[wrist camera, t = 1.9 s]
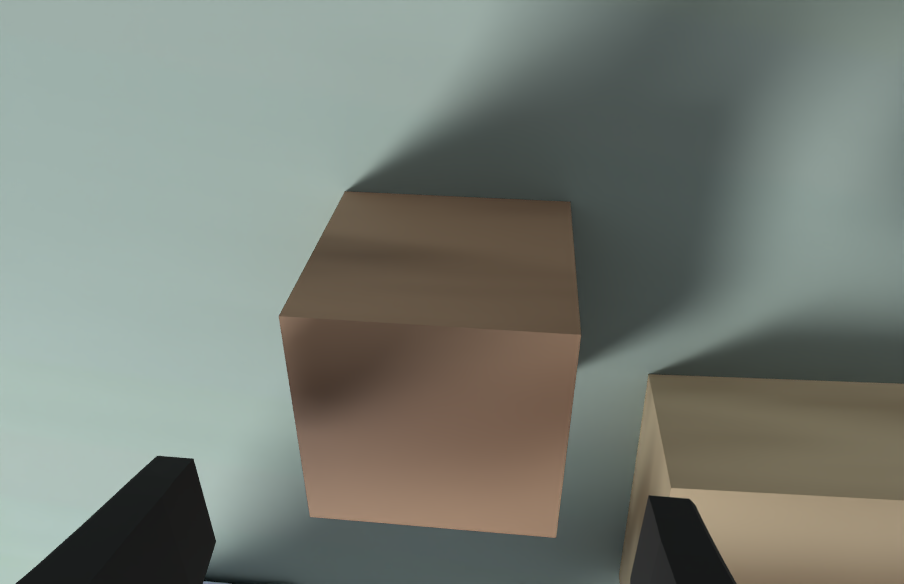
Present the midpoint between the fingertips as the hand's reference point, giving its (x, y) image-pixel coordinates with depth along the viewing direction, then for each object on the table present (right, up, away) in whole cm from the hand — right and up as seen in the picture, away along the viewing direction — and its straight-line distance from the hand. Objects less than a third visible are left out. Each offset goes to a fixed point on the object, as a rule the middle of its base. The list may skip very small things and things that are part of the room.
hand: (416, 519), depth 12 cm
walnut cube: (+1, +4, +6) cm, 7 cm away
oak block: (+10, -2, +8) cm, 13 cm away
